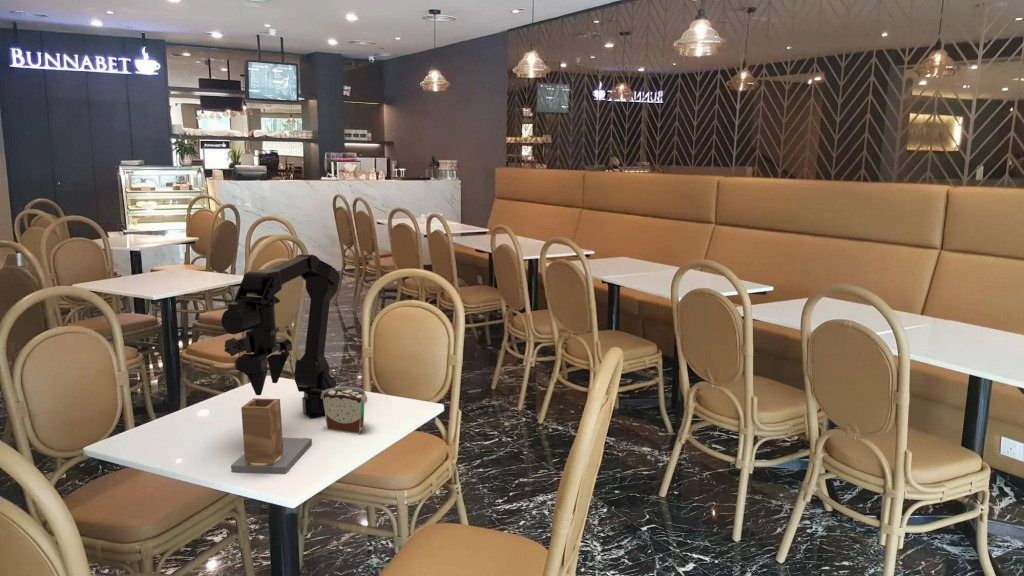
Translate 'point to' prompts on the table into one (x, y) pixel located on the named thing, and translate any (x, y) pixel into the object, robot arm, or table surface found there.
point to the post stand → (283, 463)
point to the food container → (344, 409)
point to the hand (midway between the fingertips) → (266, 388)
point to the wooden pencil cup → (262, 430)
